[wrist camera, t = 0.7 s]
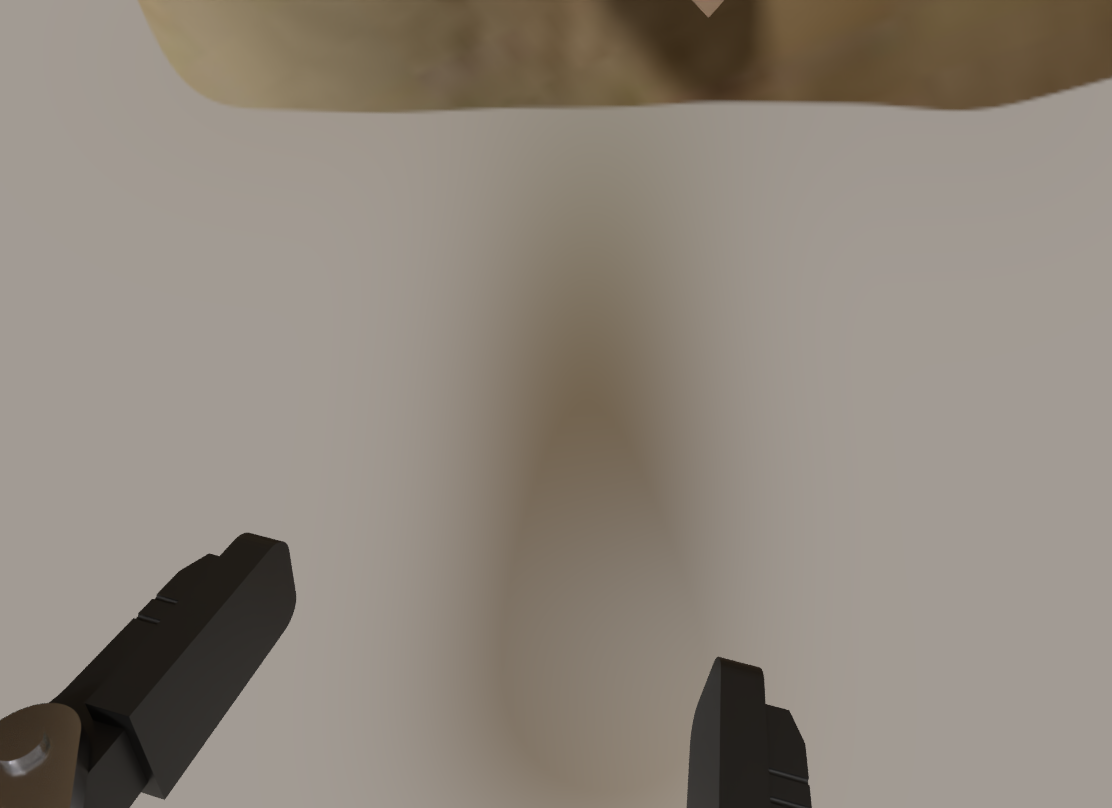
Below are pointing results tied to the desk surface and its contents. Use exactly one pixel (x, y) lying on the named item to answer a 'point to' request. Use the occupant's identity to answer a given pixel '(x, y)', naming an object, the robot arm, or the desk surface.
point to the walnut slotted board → (708, 5)
